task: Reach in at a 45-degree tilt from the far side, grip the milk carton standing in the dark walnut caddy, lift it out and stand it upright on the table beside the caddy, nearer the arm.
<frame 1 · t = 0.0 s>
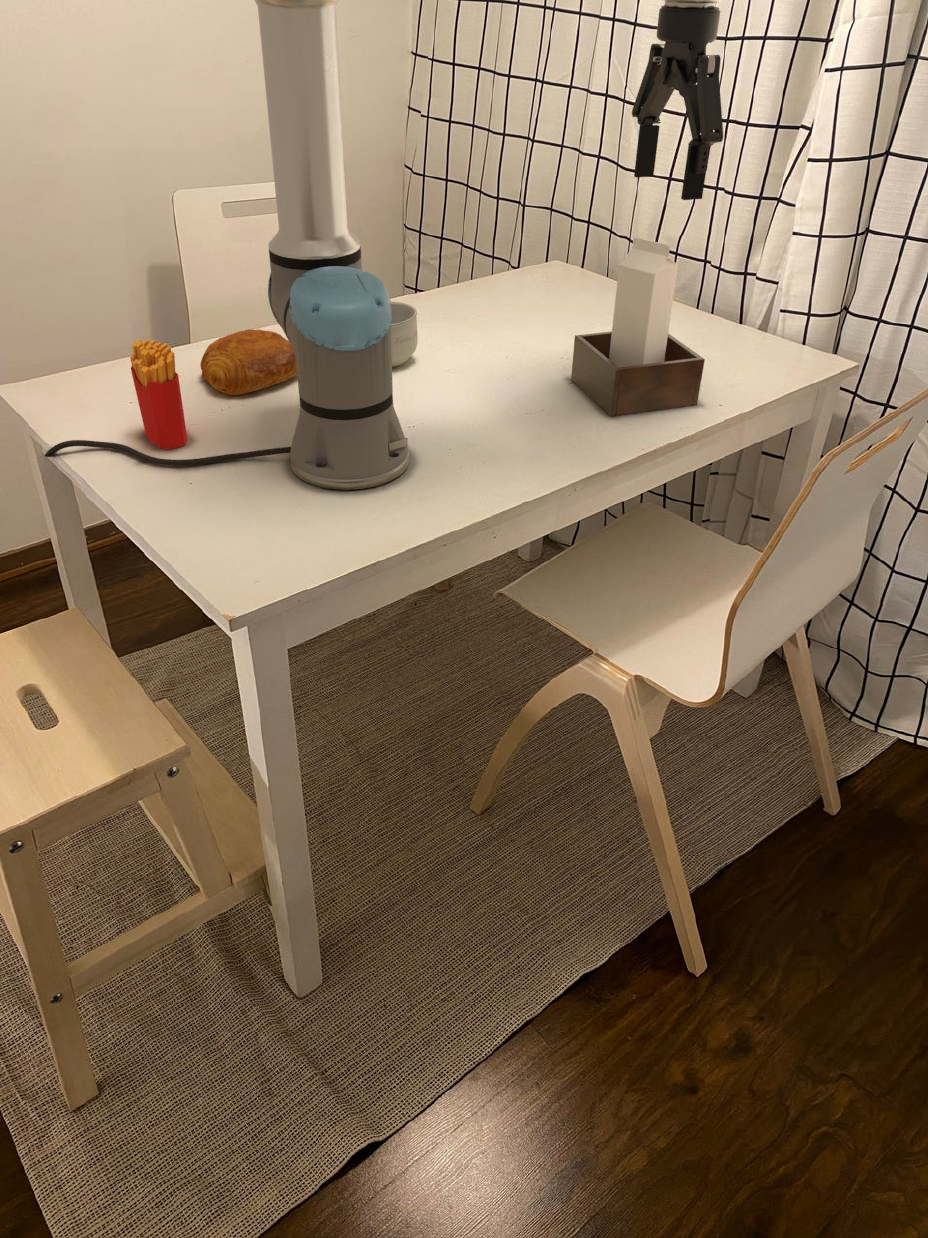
hand: (666, 187, 132), 28 cm above the table, tool pointing down, fingers open, 13 cm apart
croissant: (251, 378, 148), on the table
caddy: (632, 391, 145), on the table
teacup: (386, 358, 155), on the table
milk: (632, 392, 146), resting in caddy
french fries: (168, 440, 130), on the table
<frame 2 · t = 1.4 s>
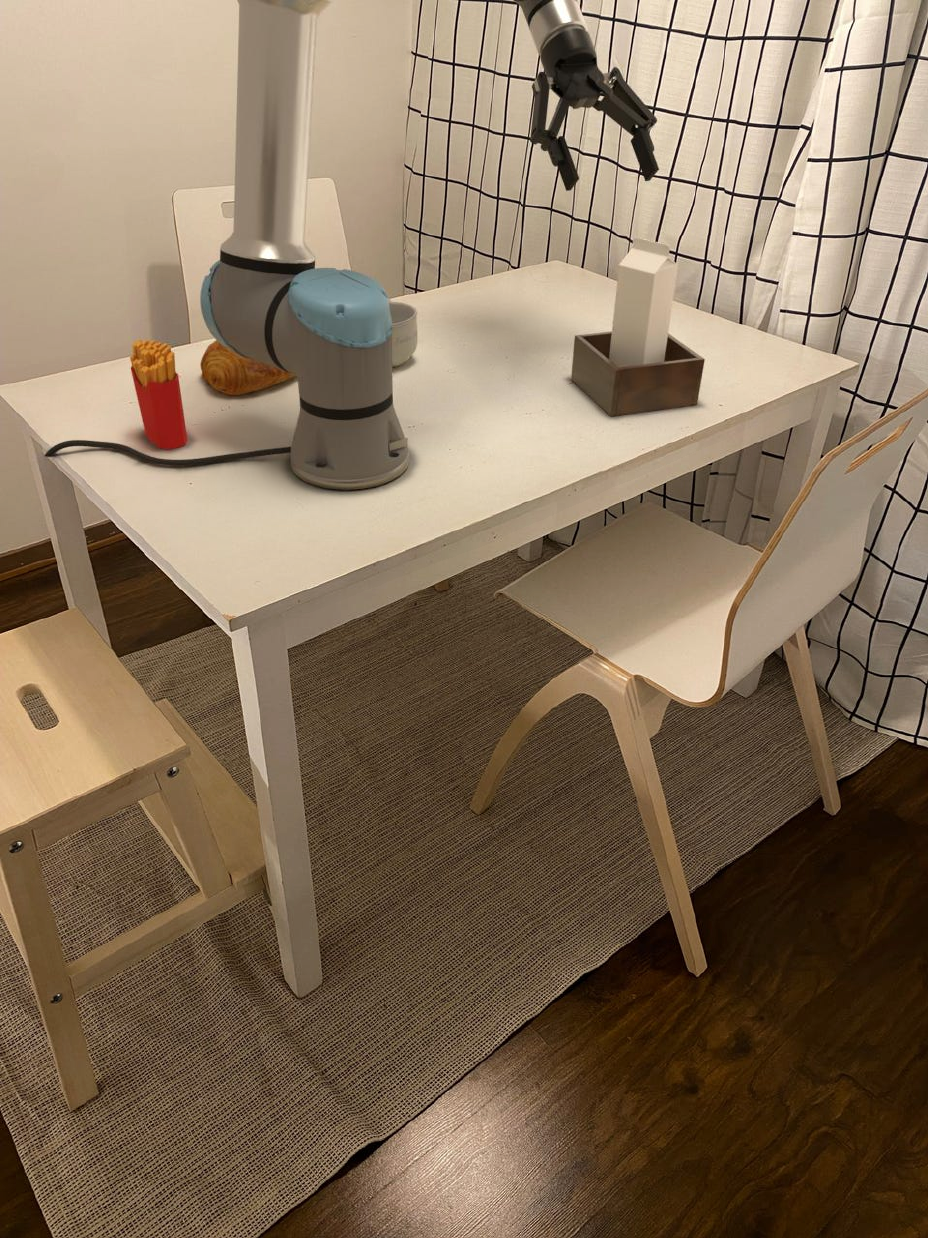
hand: (613, 180, 136), 28 cm above the table, tool tilted 45°, fingers open, 13 cm apart
nothing on the table moved.
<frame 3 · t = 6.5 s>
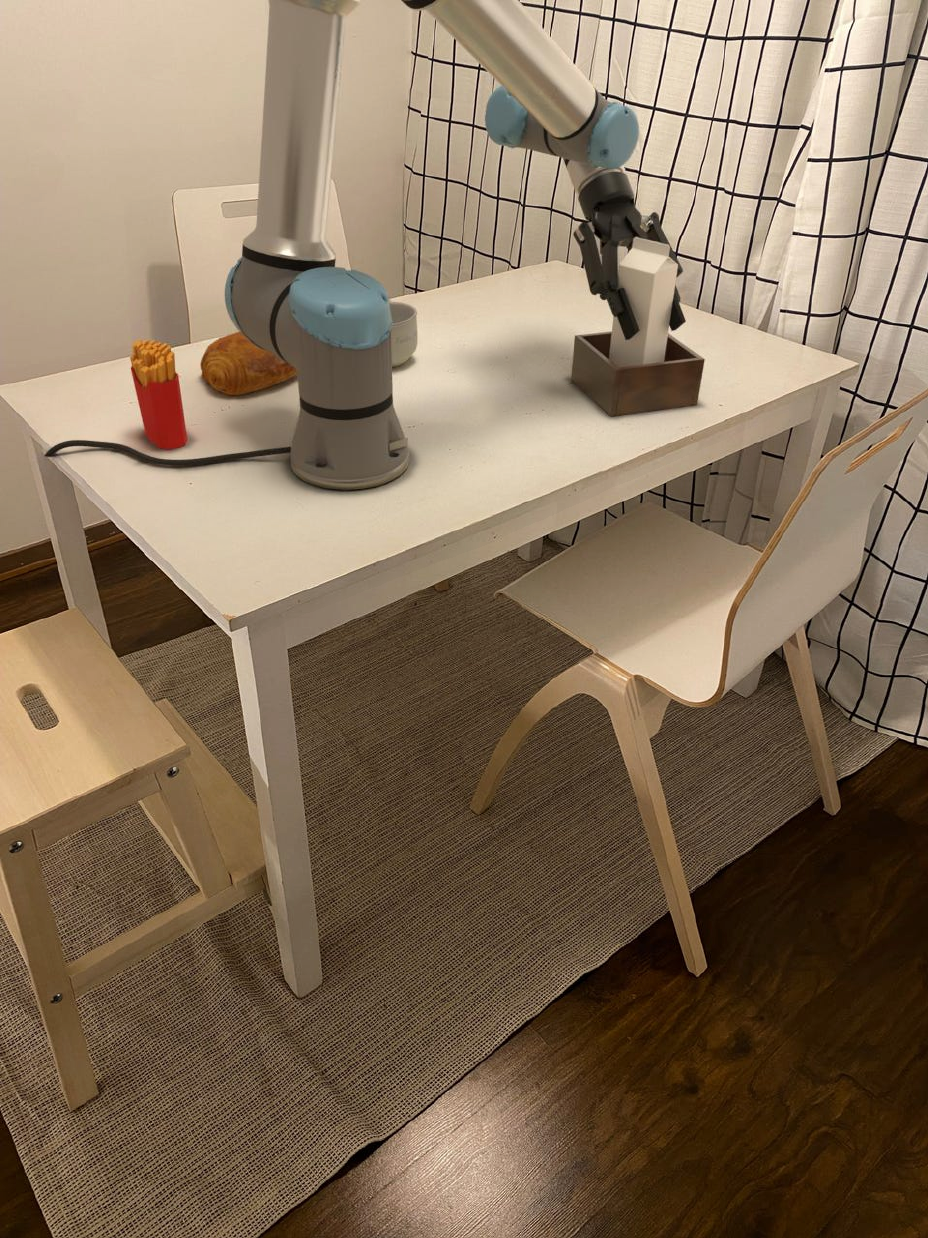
hand: (655, 330, 137), 11 cm above the table, tool tilted 45°, fingers closed on milk, 7 cm apart
milk: (632, 392, 146), resting in caddy, touching gripper
everything else where it was.
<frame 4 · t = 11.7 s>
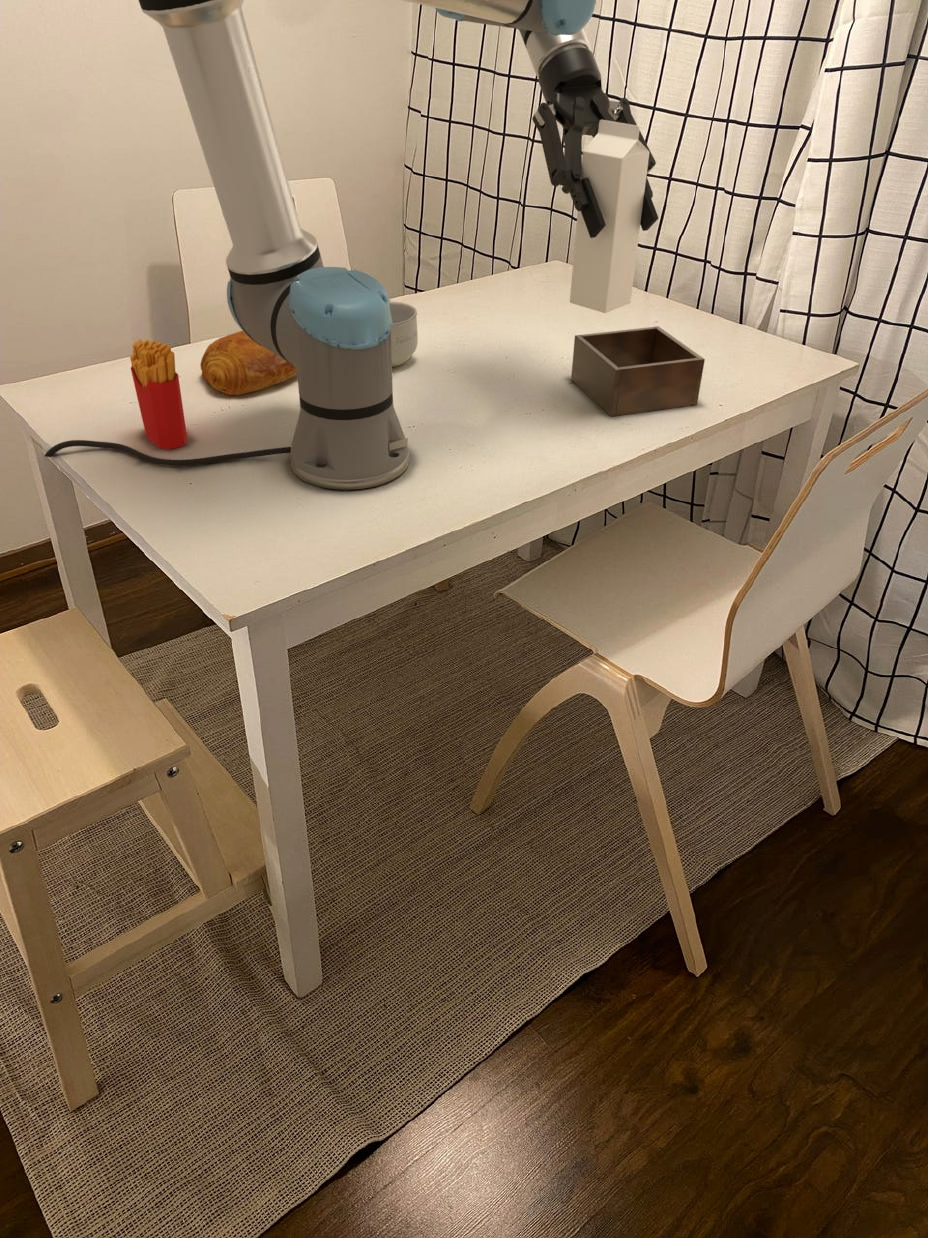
hand: (624, 227, 122), 26 cm above the table, tool tilted 45°, fingers closed on milk, 7 cm apart
milk: (599, 304, 130), point 16 cm above the table, touching gripper
everything else where it was.
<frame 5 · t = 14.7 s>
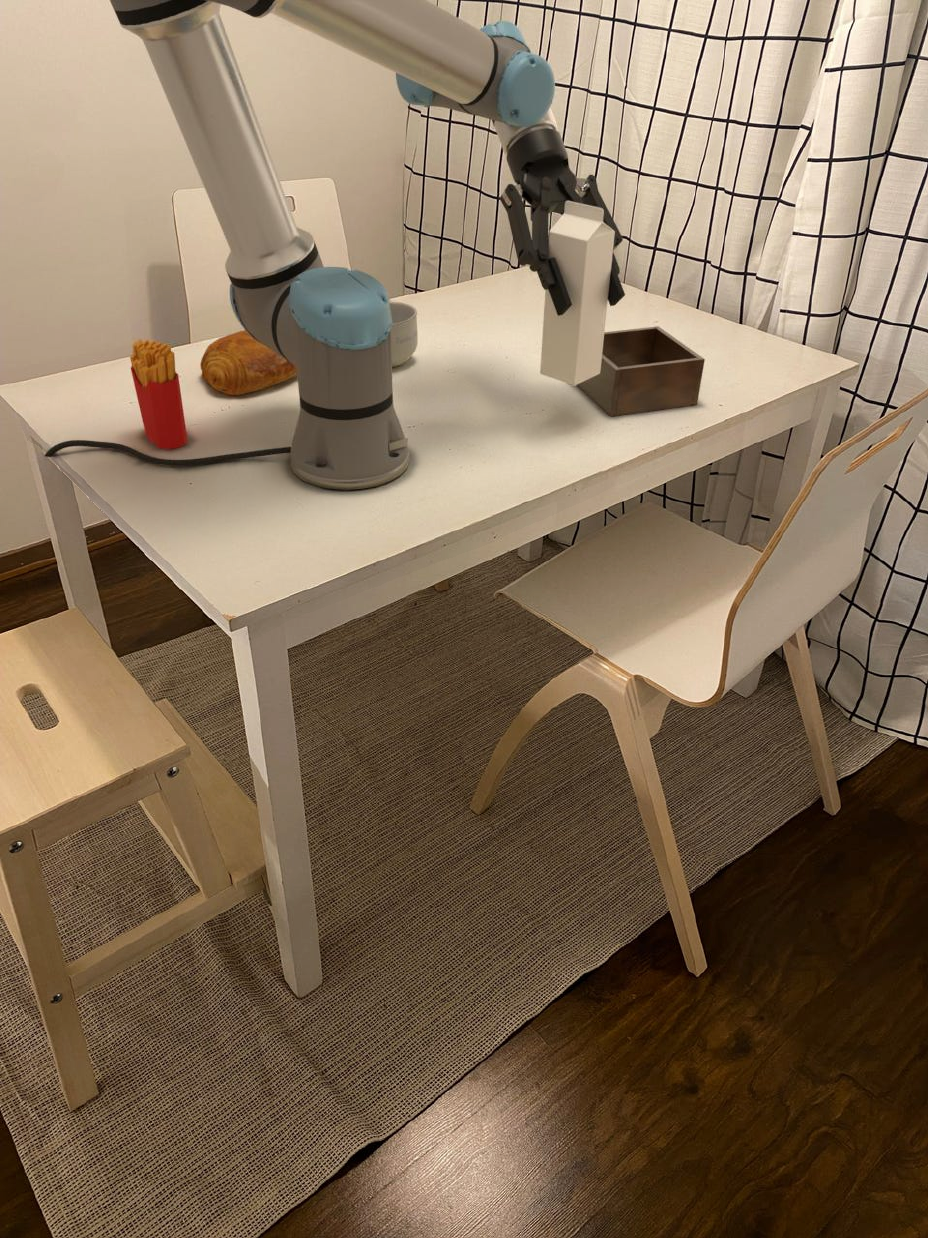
hand: (591, 304, 123), 18 cm above the table, tool tilted 45°, fingers closed on milk, 7 cm apart
milk: (570, 375, 132), point 7 cm above the table, touching gripper
everything else where it was.
when the fingers open (11 cm above the table, at t = 17.1 s): milk stays where it is, on the table.
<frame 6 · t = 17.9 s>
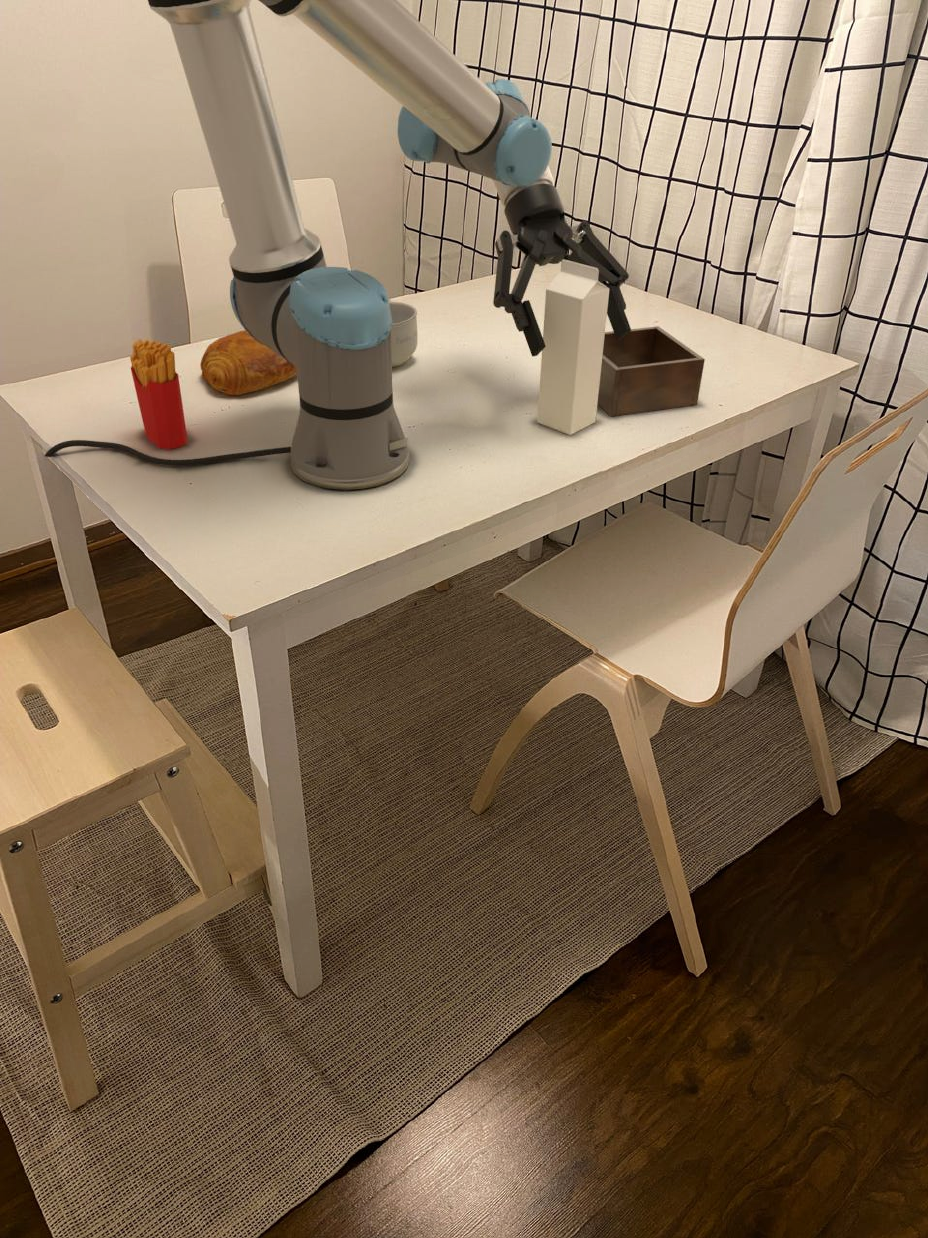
hand: (582, 343, 127), 12 cm above the table, tool tilted 45°, fingers open, 13 cm apart
milk: (566, 423, 137), on the table
everything else where it was.
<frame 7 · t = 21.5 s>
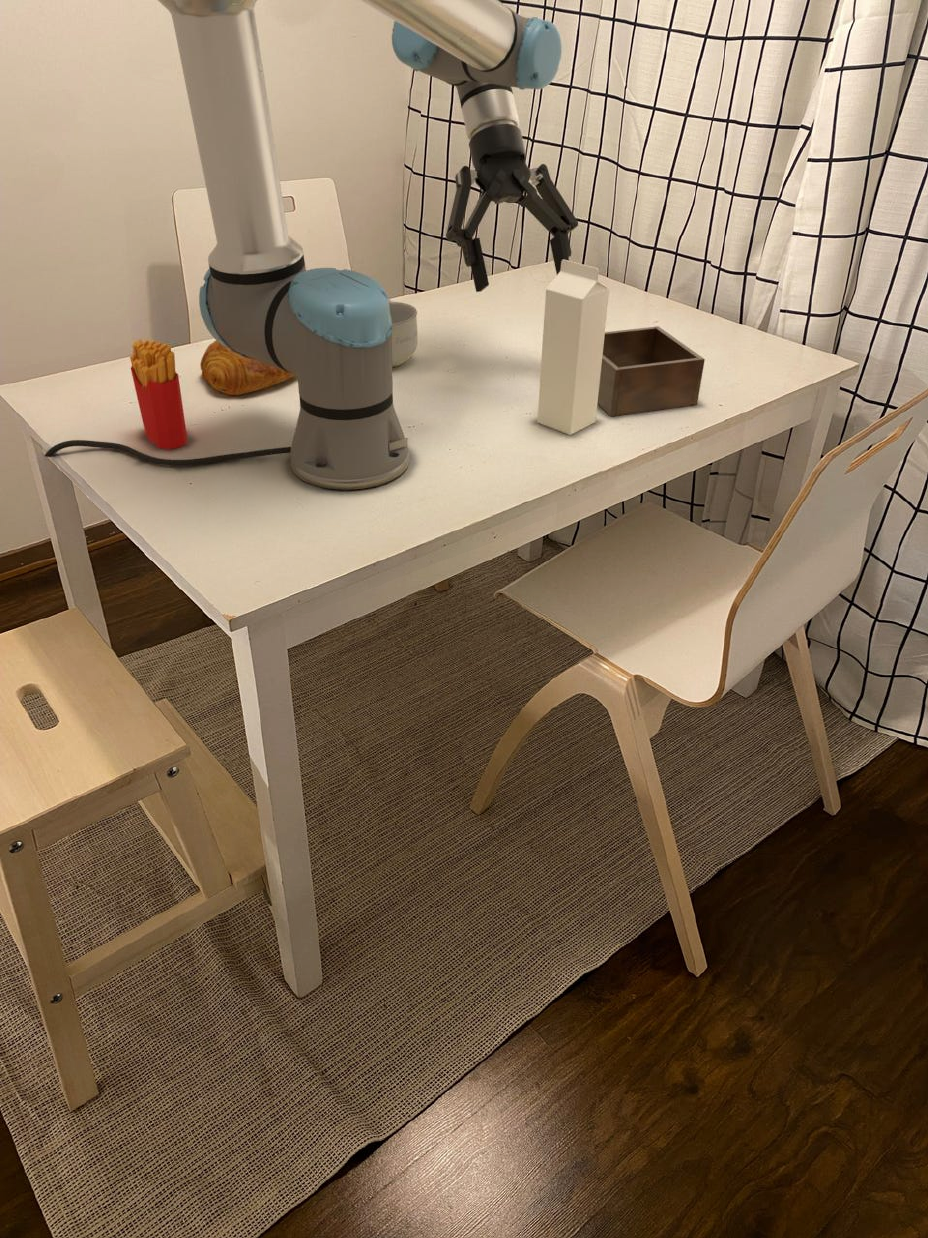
hand: (525, 285, 136), 16 cm above the table, tool tilted 35°, fingers open, 13 cm apart
nothing on the table moved.
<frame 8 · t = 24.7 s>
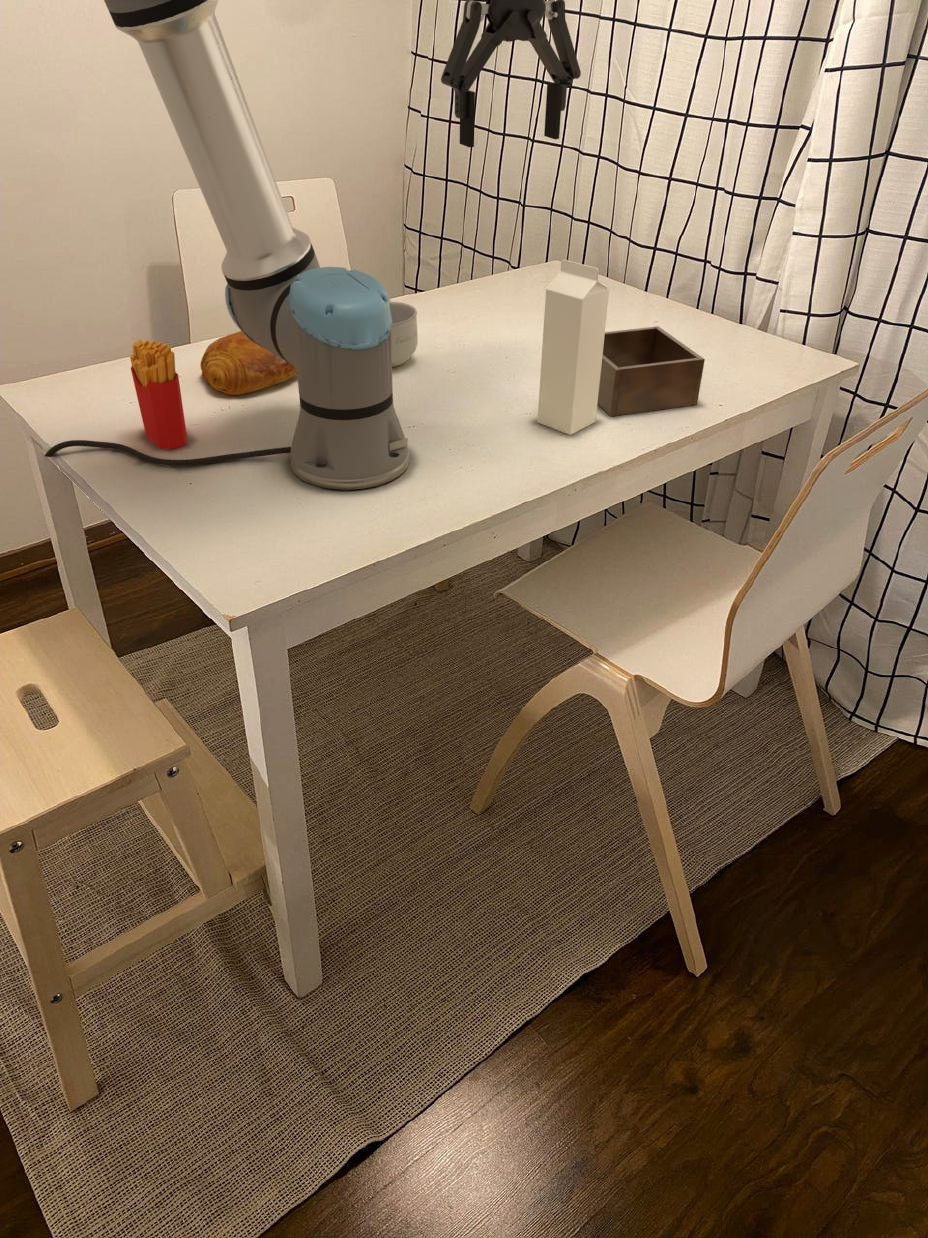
hand: (510, 141, 132), 33 cm above the table, tool pointing down, fingers open, 13 cm apart
nothing on the table moved.
at the end: milk inside the target area (0.0 cm from its centre), on the table; milk tilted 0°; the gripper is holding nothing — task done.
